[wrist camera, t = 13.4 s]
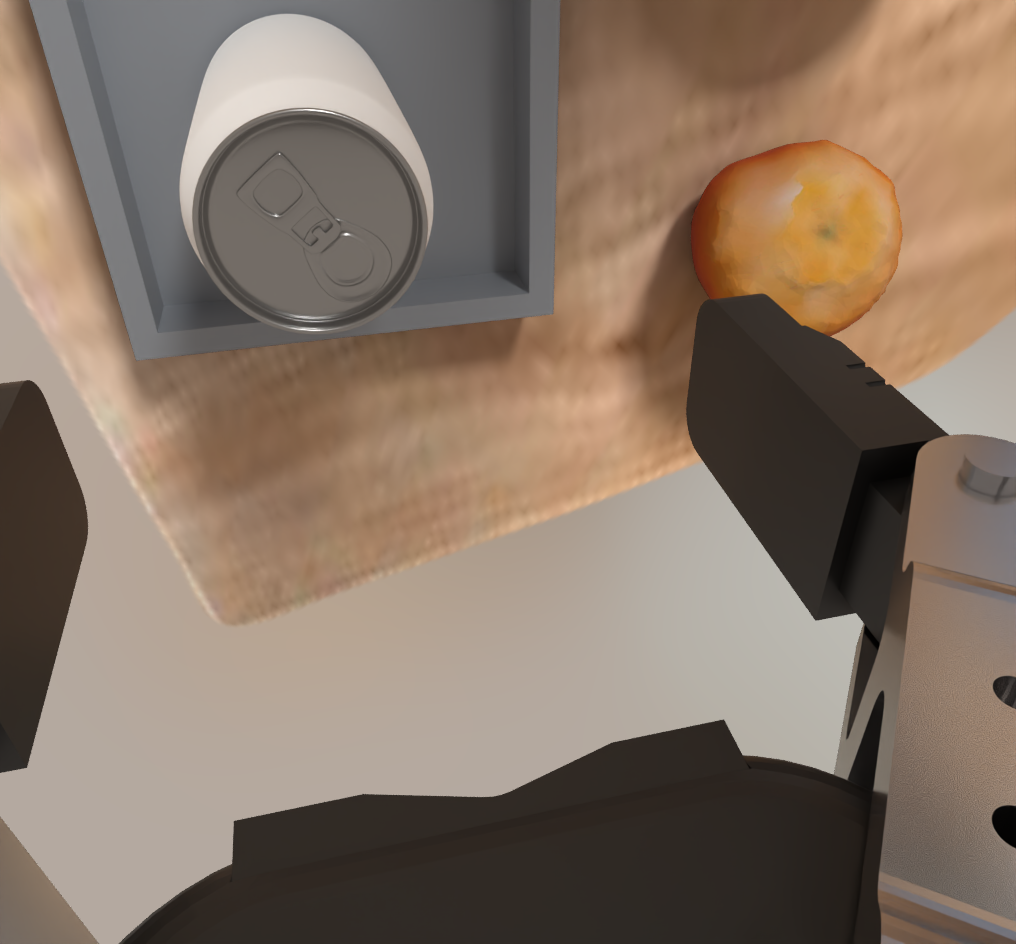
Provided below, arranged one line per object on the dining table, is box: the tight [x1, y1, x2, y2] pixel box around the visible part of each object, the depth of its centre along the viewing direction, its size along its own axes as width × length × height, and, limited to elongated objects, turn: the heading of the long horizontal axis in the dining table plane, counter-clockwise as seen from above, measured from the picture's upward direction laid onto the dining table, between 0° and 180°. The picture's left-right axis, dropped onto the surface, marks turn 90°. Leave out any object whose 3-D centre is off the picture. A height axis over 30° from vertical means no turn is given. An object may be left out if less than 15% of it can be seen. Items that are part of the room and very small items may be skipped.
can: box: [179, 14, 433, 334], centre depth 26 cm, size 6×6×12 cm
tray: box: [29, 0, 560, 361], centre depth 30 cm, size 16×16×3 cm
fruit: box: [691, 140, 902, 336], centre depth 36 cm, size 8×8×8 cm
